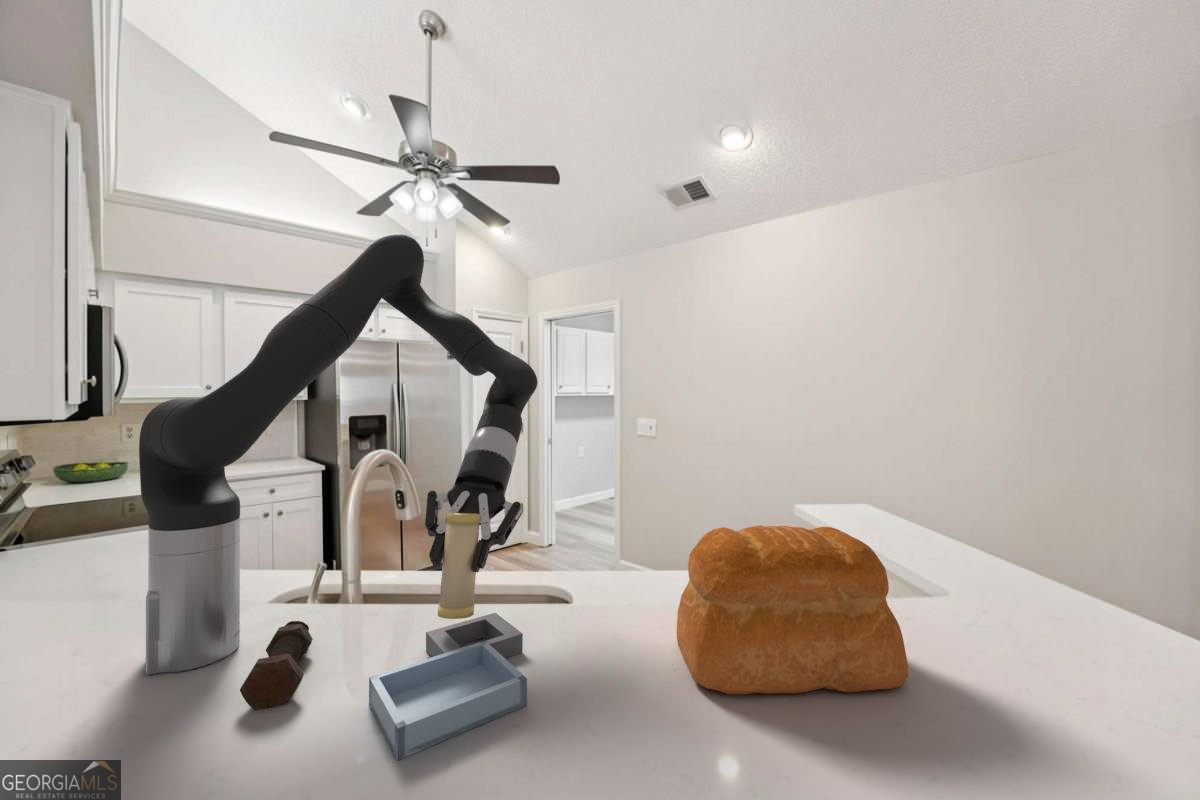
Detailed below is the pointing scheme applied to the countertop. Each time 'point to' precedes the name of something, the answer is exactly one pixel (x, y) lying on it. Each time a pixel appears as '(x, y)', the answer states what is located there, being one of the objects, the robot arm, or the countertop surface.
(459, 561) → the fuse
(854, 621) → the bread
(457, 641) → the fuse holder
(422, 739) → the parts tray
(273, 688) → the bolt
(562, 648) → the countertop surface
